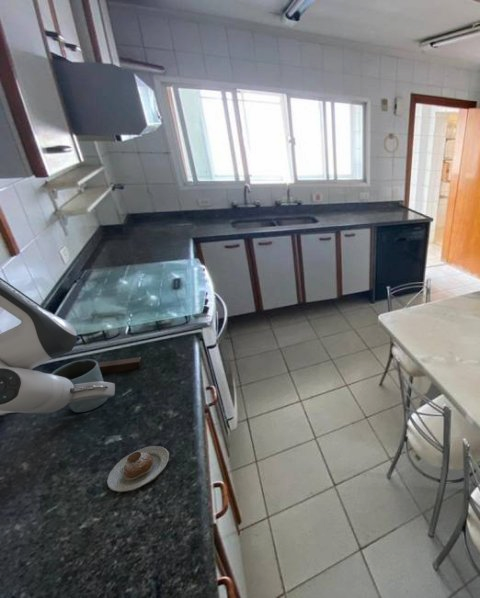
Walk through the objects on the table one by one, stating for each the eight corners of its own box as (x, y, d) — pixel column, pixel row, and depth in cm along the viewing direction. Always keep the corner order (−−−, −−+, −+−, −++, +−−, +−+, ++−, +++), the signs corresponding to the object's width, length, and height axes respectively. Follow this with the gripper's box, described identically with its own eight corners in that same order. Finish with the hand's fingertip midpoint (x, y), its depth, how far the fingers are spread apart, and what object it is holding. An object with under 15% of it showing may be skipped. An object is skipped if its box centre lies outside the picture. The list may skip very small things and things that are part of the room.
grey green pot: (114, 386, 103) (100, 355, 98) (109, 407, 96) (93, 374, 90) (72, 397, 99) (54, 365, 93) (62, 420, 91) (43, 386, 86)
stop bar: (80, 377, 107) (77, 369, 105) (84, 371, 109) (81, 364, 108) (140, 369, 112) (138, 361, 111) (143, 364, 115) (140, 356, 114)
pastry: (173, 443, 86) (168, 430, 84) (165, 482, 76) (159, 469, 74) (117, 458, 82) (110, 445, 79) (101, 502, 72) (93, 489, 70)
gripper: (102, 373, 83) (125, 380, 95) (-9, 388, 76) (32, 394, 88) (100, 398, 81) (124, 402, 93) (-14, 416, 74) (29, 418, 86)
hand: (79, 398), depth 91 cm, fingers closed
